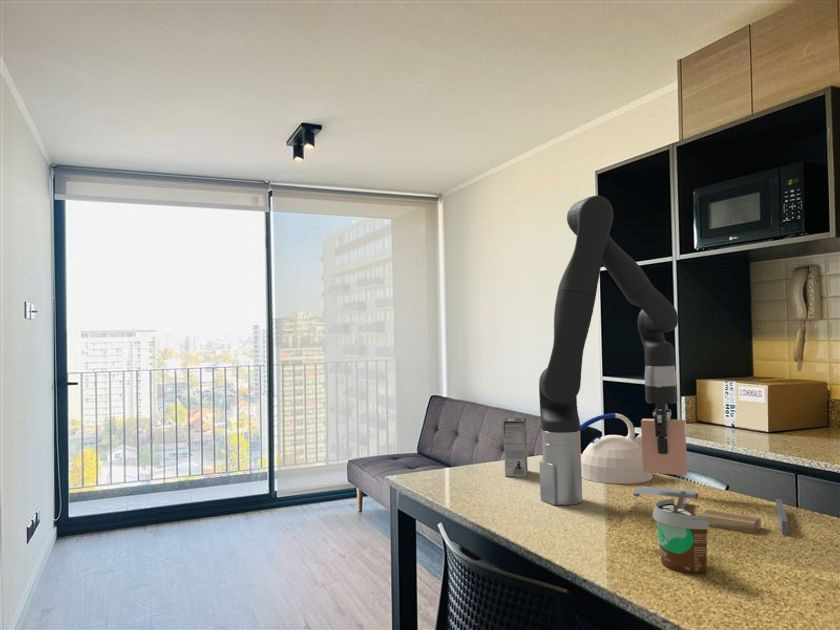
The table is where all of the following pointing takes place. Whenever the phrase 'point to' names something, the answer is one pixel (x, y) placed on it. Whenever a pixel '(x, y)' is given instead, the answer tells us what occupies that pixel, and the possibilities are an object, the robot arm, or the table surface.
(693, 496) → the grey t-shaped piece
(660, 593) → the table surface
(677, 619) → the table surface
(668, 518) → the food container
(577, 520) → the table surface
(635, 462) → the kettle
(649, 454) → the tall sheet
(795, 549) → the table surface
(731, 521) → the offcut top
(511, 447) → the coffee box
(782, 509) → the rack
